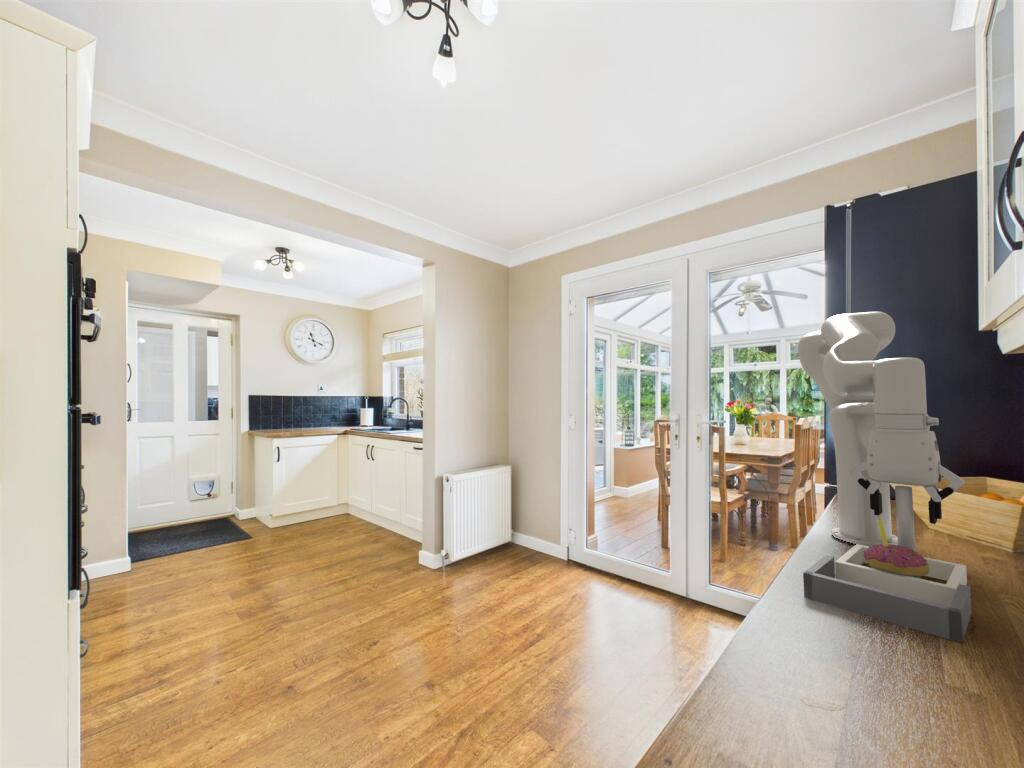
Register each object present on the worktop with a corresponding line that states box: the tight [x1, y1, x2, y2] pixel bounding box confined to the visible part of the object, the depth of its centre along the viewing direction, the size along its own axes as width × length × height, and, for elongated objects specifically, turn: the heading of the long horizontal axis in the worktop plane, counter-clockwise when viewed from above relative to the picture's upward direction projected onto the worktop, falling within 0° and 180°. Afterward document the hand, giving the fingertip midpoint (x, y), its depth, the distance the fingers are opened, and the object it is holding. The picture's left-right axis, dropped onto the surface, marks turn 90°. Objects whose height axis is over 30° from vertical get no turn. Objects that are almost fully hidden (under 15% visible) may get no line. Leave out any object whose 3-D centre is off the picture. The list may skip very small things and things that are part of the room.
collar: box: [835, 485, 968, 607], centre depth 78 cm, size 15×15×16 cm
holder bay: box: [802, 554, 973, 644], centre depth 70 cm, size 12×18×4 cm
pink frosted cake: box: [863, 515, 929, 579], centre depth 76 cm, size 9×8×12 cm
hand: (904, 517), depth 82 cm, fingers open, 7 cm apart
